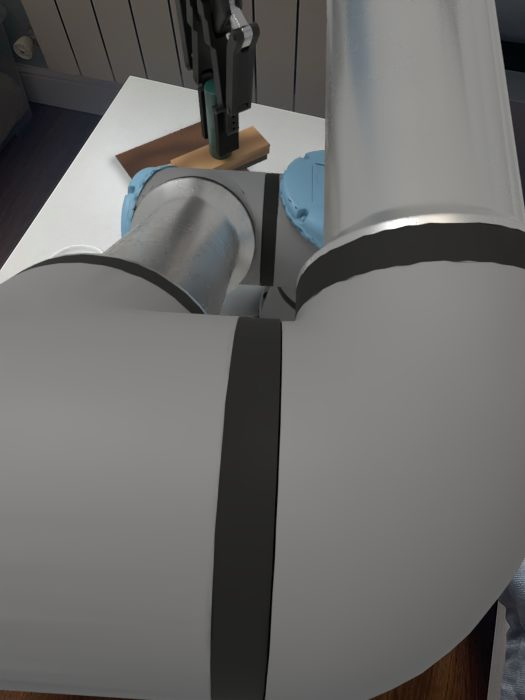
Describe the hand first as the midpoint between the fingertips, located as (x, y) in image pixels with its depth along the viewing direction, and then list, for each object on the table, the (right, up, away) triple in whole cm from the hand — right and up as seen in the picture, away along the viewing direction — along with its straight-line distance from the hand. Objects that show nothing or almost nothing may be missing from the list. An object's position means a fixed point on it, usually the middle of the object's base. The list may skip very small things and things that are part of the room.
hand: (220, 141), depth 65 cm
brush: (0, -2, +3) cm, 4 cm away
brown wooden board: (-5, 0, +16) cm, 17 cm away
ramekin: (-19, -17, +7) cm, 27 cm away
